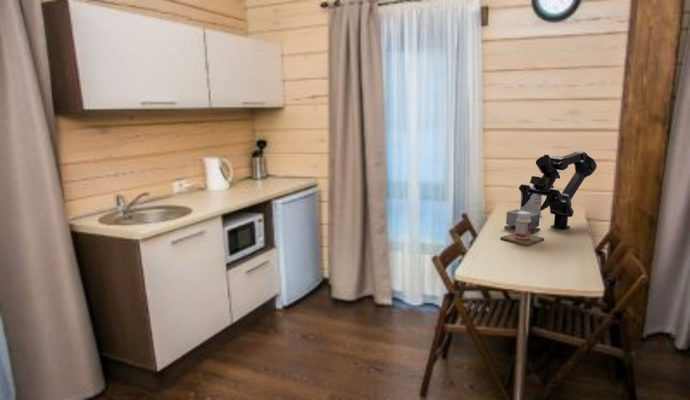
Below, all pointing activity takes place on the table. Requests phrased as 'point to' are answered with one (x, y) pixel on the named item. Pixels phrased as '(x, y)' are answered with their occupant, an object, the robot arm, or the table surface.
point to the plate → (524, 242)
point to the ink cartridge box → (532, 203)
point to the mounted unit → (514, 215)
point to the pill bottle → (523, 225)
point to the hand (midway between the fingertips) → (531, 208)
